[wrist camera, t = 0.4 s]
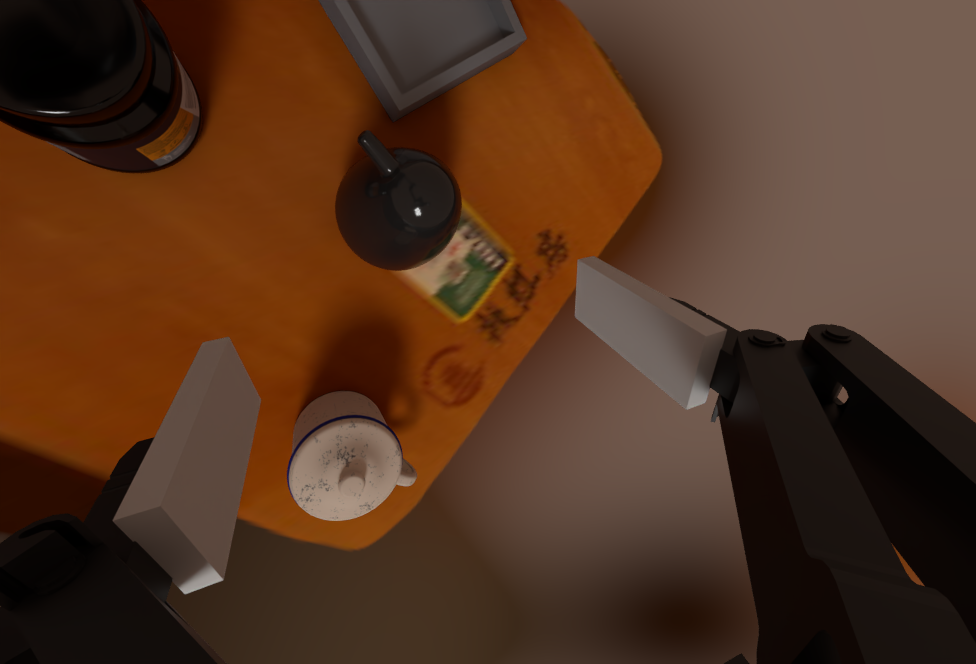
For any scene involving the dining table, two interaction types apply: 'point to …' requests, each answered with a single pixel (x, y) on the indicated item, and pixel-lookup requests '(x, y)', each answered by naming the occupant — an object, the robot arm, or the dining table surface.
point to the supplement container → (97, 83)
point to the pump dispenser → (397, 206)
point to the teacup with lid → (344, 458)
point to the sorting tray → (423, 44)
